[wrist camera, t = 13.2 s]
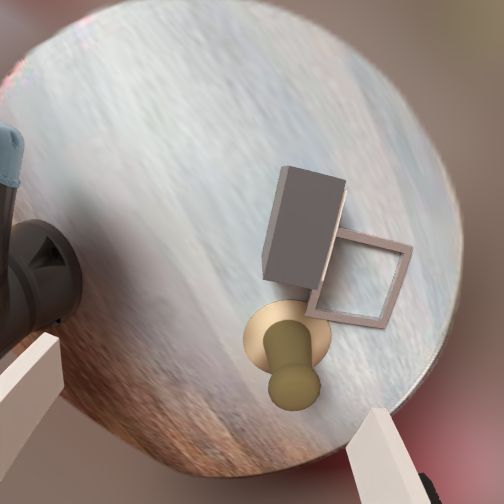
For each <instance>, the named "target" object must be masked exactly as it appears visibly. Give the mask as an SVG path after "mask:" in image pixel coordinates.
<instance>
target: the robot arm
mask: <svg viewBox="0 0 504 504" xmlns="http://www.w3.org/2000/svg"><path fill="white" fill-rule="evenodd" d="M23 153H24V140H23V137H22V135H21V133H20V132H19V131H18V130H17V129H16V128H14V127H12V126H10V125H8V124H6V123H3V122H1V121H0V359H2V358H3V357H4V356H5V355H6V354H7V353H8V352H9V351H10V350H12V349H13V348H14V347H15V346H16V345H17V344H18V343H19V342H21V341H22V340H23V339H24V338H25V337H26V336H27V335H29V334H30V333H32V332H36V331H40V330H44V329H48V328H52V327H55V326H58V325H60V324H61V323H63V322H64V321H65V320H67V319H68V318H69V317H70V316H71V315H72V314H73V313H74V312H75V310H76V309H77V307H78V305H79V302H80V299H81V294H82V277H81V271H80V267H79V264H78V261H77V258H76V255H75V253H74V251H73V249H72V247H71V246H70V244H69V242H68V241H67V240H66V238H65V237H64V236H63V235H62V233H61V232H60V231H59V230H57V229H56V228H55V227H54V226H52V225H51V224H49V223H47V222H45V221H42V220H36V219H32V220H27V221H24V222H21V223H18V224H16V225H14V226H12V218H13V211H14V204H15V198H16V192H17V188H19V185H20V179H19V175H20V169H21V163H22V158H23ZM11 226H12V227H11ZM63 388H64V381H63V373H62V364H61V354H60V342H59V338H58V337H55V336H53V335H50V334H48V333H46V332H44V333H43V334H42V335H41V336H40V337H39V338H38V339H37V340H36V341H35V342H34V343H33V344H31V345H30V346H29V347H28V348H27V349H26V350H25V351H24V352H23V353H22V354H21V355H20V356H19V357H18V358H17V359H16V360H15V361H14V362H13V363H12V364H11V365H10V366H9V367H8V368H7V369H6V370H5V371H4V372H3V373H2V374H1V375H0V482H1V480H2V479H3V477H4V475H5V474H6V472H7V470H8V469H9V467H10V466H11V464H12V462H13V461H14V459H15V458H16V456H17V455H18V453H19V452H20V450H21V449H22V447H23V445H24V444H25V442H26V441H27V439H28V438H29V436H30V435H31V433H32V432H33V431H34V429H35V428H36V426H37V425H38V423H39V422H40V420H41V419H42V417H43V416H44V414H45V413H46V412H47V410H48V409H49V408H50V406H51V405H52V403H53V402H54V400H55V399H56V398H57V396H58V395H59V394H60V392H61V391H62V389H63ZM346 451H347V454H348V458H349V461H350V464H351V468H352V471H353V475H354V478H355V482H356V485H357V489H358V492H359V495H360V499H361V503H362V504H442V503H441V501H440V500H439V496H438V494H437V493H436V490H435V488H434V486H433V483H432V481H431V480H430V479H429V478H428V477H427V476H426V475H425V474H424V473H419V474H418V473H417V471H416V469H415V467H414V465H413V463H412V461H411V458H410V456H409V454H408V452H407V450H406V448H405V446H404V443H403V441H402V439H401V437H400V435H399V433H398V431H397V429H396V427H395V425H394V423H393V421H392V419H391V417H390V415H389V413H388V411H387V409H386V408H372V409H371V410H370V412H369V414H368V415H367V417H366V418H365V420H364V421H363V423H362V424H361V426H360V428H359V429H358V431H357V432H356V434H355V435H354V437H353V438H352V439H351V441H350V442H349V444H348V445H347V447H346Z"/></svg>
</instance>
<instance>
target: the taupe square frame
mask: <svg viewBox="0 0 504 504" xmlns="http://www.w3.org/2000/svg"><path fill="white" fill-rule="evenodd" d="M336 237H340V238H345V239H349V240H353V241H357V242H361V243H366V244H370V245H374V246H378V247H382V248H386V249H390V250H394V251H398V252H401V255H400V258H399V262H398V265H397V268H396V271H395V274H394V277H393V280H392V283H391V286H390V289H389V292H388V295H387V298H386V300H385V303H384V306H383V309H382V311H381V314H380V317H379V318H376V317H369V316H363V315H357V314H351V313H345V312H339V311H333V310H327V309H321V308H316V305H317V302H318V299H319V295H320V292H321V289H322V285H323V282H324V280H323V281H320V283H319V286H318V290H314V289H311V290H310V294H309V297H308V301H307V306H306V309H305V313H304V316H307V317H313V318H319V319H325V320H331V321H337V322H344V323H350V324H357V325H363V326H370V327H377V328H384V329H385V327H386V325H387V322H388V320H389V317H390V314H391V312H392V309H393V306H394V304H395V301H396V298H397V295H398V293H399V290H400V287H401V284H402V281H403V278H404V275H405V272H406V269H407V266H408V263H409V260H410V256H411V253H412V250H413V246H411V245H408V244H404V243H400V242H396V241H393V240H389V239H385V238H381V237H377V236H373V235H369V234H365V233H361V232H357V231H353V230H349V229H345V228H341V227H338V229H337V233H336ZM336 237H335V239H336ZM334 243H335V240H334ZM333 246H334V244H333ZM332 250H333V248H332ZM331 254H332V251H331ZM330 257H331V255H330ZM329 261H330V259H329ZM328 264H329V262H328ZM327 268H328V266H327ZM326 271H327V269H326ZM325 275H326V273H325ZM324 278H325V276H324Z"/></svg>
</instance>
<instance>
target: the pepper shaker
mask: <svg viewBox="0 0 504 504" xmlns="http://www.w3.org/2000/svg"><path fill="white" fill-rule="evenodd" d="M263 346H264V350H265V353H266V357H267V360H268V364H269V367H270V371H271V374H272V376H271V378H270V380H269V386H268V393H269V395H270V398H271V400H272V402H273V403H274V404H275V405H276V406H278V407H279V408H281V409H283V410H287V411H299V410H303V409H305V408H307V407H309V406H311V405H312V404H313V403H314V402H315V401H316V399H317V397H318V396H319V393H320V387H321V384H320V380H319V377H318V375H317V374H316V372H315V371H314V370H313V369H312V347H311V335H310V331H309V330H308V328H307V327H306V326H305V325H304V324H302V323H301V322H299V321H295V320H282V321H279V322H276V323H274V324H273V325H271V326H270V327H269V328H268V329H267V330H266V332H265V334H264V337H263Z"/></svg>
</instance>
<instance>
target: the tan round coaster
mask: <svg viewBox="0 0 504 504" xmlns="http://www.w3.org/2000/svg"><path fill="white" fill-rule="evenodd" d="M306 306H307V303H306V302H303V301H299V300H281V301H276V302H273V303H270V304H268V305H266V306H264V307H263V308H261V309H260V310H258V311H257V312H256V313H255V314H254V315H253V316H252V317H251V318H250V320H249V321H248V323H247V325H246V327H245V331H244V336H243V345H244V349H245V352H246V354H247V356H248V358H249V359H250V361H251V362H252V363H253V364H254V365H255V366H257V367H258V368H260V369H261V370H263V371H265V372H268V373H271V371H270V367H269V364H268V360H267V357H266V353H265V350H264V346H263V337H264V334H265V332H266V330H267V329H268V328H269V327H270V326H271V325H273V324H274V323H276V322H279V321H282V320H295V321H299V322H301V323H302V324H304V325H305V326H306V327H307V328H308V330H309V331H310V335H311V347H312V367H313V366H315V365H316V364H317V363H318V362H319V361H320V360H321V359H322V358H323V357H324V355H325V354H326V352H327V350H328V348H329V345H330V341H331V330H330V326H329V323H328V321H327V320H325V319H319V318H313V317H307V316H304V313H305V309H306Z"/></svg>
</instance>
